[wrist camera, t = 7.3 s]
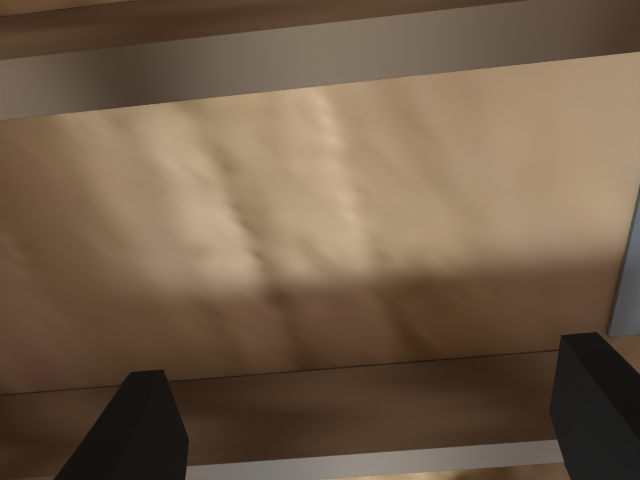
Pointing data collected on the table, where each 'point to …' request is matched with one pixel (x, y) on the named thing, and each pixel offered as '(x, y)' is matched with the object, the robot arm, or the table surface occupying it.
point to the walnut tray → (281, 74)
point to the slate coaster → (628, 285)
